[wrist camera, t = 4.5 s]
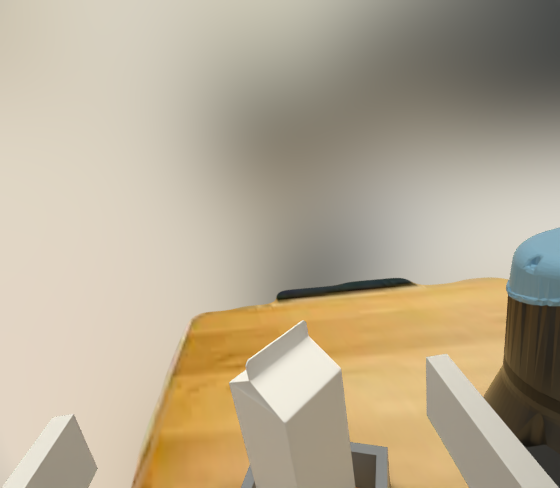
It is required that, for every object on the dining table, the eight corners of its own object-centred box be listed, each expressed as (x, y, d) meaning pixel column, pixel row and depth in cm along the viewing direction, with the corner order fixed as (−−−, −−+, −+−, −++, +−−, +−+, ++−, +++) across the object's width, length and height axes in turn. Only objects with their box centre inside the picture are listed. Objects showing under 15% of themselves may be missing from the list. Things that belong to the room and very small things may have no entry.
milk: (361, 536, 31) (340, 331, 23) (319, 603, 27) (278, 383, 20) (311, 492, 35) (279, 307, 28) (268, 544, 31) (218, 346, 24)
